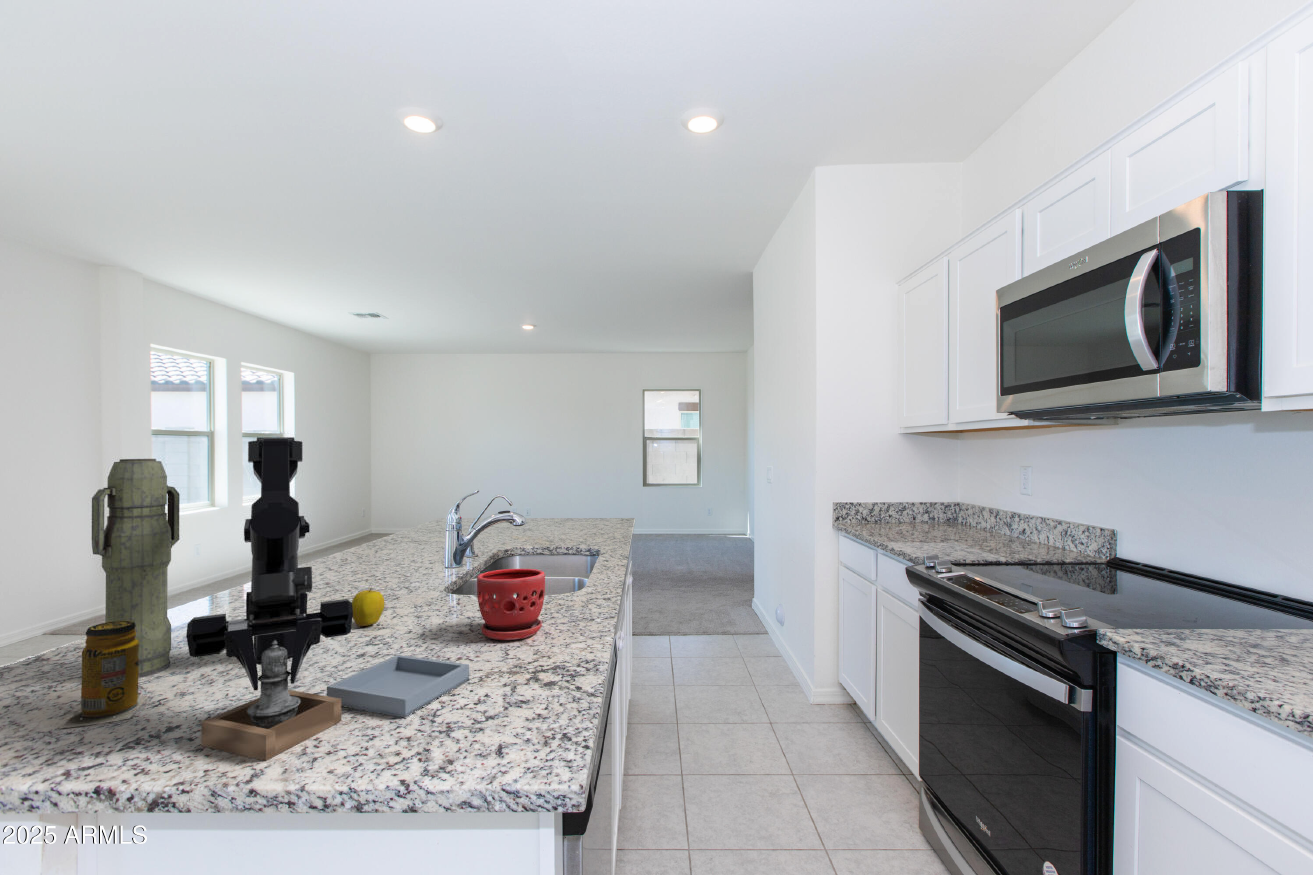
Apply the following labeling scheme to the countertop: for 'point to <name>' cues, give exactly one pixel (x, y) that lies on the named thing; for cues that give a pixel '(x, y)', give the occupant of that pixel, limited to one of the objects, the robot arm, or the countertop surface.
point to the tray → (399, 685)
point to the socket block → (247, 740)
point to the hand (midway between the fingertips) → (274, 685)
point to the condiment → (108, 675)
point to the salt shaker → (273, 691)
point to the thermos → (138, 553)
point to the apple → (367, 607)
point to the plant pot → (511, 602)
